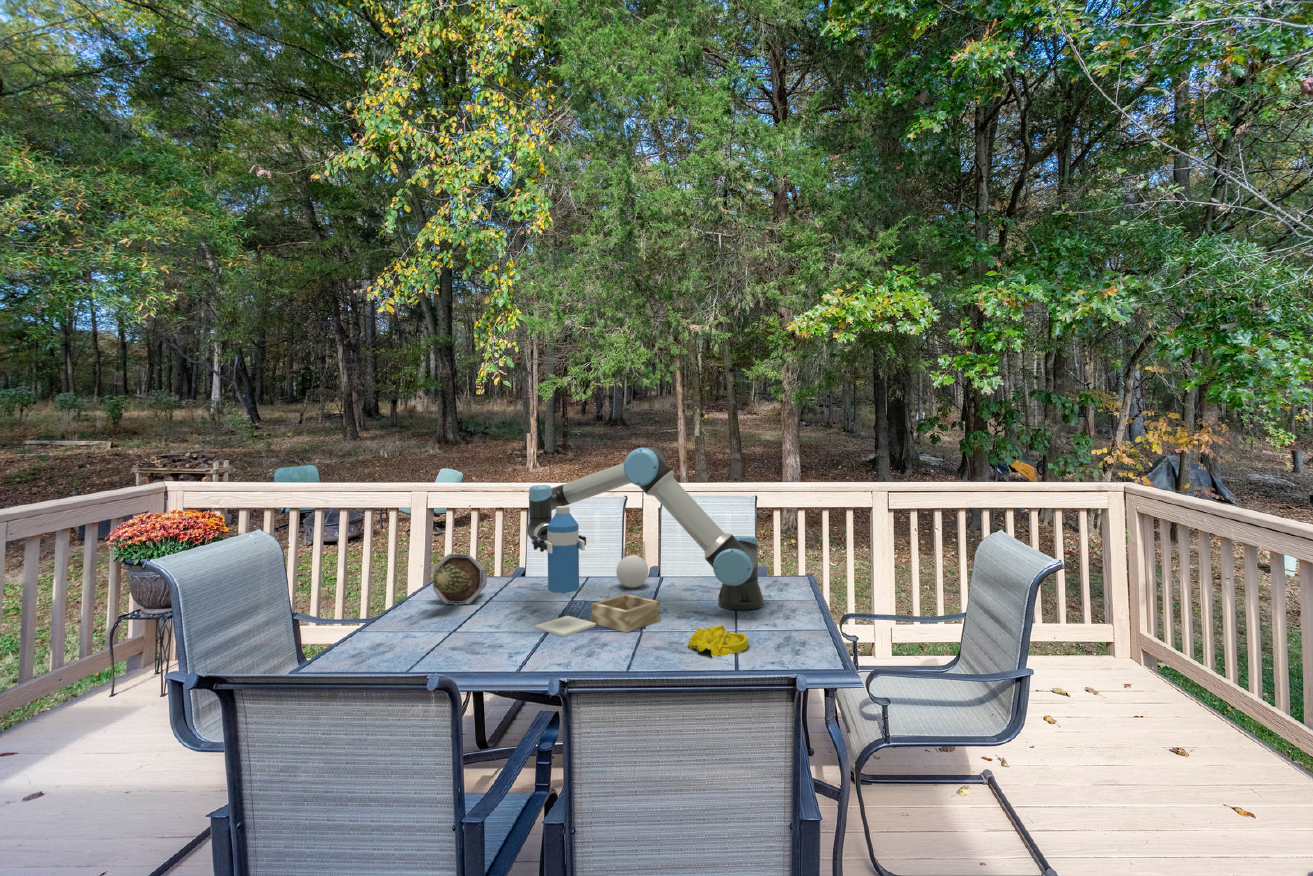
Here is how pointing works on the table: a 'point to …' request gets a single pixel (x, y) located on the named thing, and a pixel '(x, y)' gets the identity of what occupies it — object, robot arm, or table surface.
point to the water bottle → (563, 552)
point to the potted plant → (459, 579)
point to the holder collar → (625, 612)
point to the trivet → (565, 625)
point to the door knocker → (718, 641)
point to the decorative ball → (632, 571)
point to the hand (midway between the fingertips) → (567, 547)
